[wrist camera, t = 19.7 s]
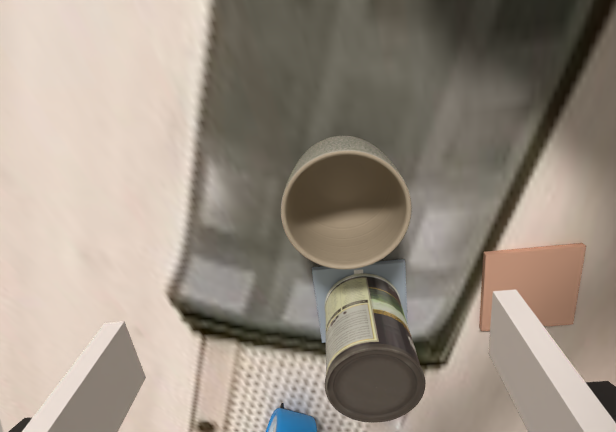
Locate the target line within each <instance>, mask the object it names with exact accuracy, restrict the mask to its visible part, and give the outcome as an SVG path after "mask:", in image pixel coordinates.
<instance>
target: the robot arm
mask: <svg viewBox="0 0 616 432" xmlns="http://www.w3.org/2000/svg"><path fill="white" fill-rule="evenodd" d="M489 356H490V358H491V360H492V362H493V364H494V366H495V368H496V370H497V372H498V373H499V375H500V377H501V379H502V381H503V383H504V385H505V387H506V389H507V391H508V393H509V395H510V397H511V399H512V401H513V403H514V405H515V407H516V409H517V411H518V413H519V415H520V417H521V419H522V421H523V423H524V424H525V426H526V428H527V430H528V432H616V386H614V385H613V384H611V383H610V382H609V381H602V382H585V381H584V380H583V378H582V377H581V376H580V374H579V373H578V372H577V370H576V369H575V368H574V366H573V365H572V364H571V362H570V361H569V360H568V358H567V357H566V356H565V354H564V353H563V352H562V350H561V349H560V348H559V346H558V345H557V344H556V342H555V341H554V340H553V338H552V337H551V336H550V334H549V333H548V331H547V330H546V329H545V327H544V326H543V325H542V323H541V322H540V321H539V319H538V318H537V317H536V315H535V314H534V313H533V311H532V310H531V309H530V307H529V306H528V305H527V303H526V302H525V301H524V299H523V298H522V297H521V295H520V294H519V293H518V291H517V290H516V289H515V290H503V291H493V296H492V310H491V325H490V340H489ZM145 378H146V377H145V374H144V371H143V369H142V366H141V364H140V361H139V358H138V356H137V353H136V351H135V348H134V345H133V343H132V340H131V337H130V335H129V332H128V330H127V327H126V324H125V322H124V321H122V322H109V323H104V324H103V326H102V327H101V328H100V330H99V331H98V332H97V333H96V335H95V336H94V337H93V339H92V340H91V341H90V343H89V344H88V345H87V347H86V348H85V349H84V351H83V352H82V353H81V355H80V356H79V357H78V358H77V360H76V361H75V362H74V364H73V365H72V366H71V368H70V369H69V370H68V372H67V373H66V374H65V376H64V377H63V378H62V380H61V381H60V382H59V383H58V385H57V386H56V387H55V389H54V390H53V391H52V393H51V394H50V395H49V397H48V398H47V399H46V401H45V402H44V403H43V405H42V406H41V407H40V408H39V410H38V411H37V412H36V414H35V415H34V416H33V418H24V419H23V420H22V421H20V422H19V423H18V424H17V425H16V426H15V427H13V428H12V429H11V430H10V431H9V432H118V430H119V428H120V426H121V424H122V422H123V420H124V418H125V417H126V415H127V413H128V411H129V409H130V407H131V405H132V403H133V401H134V399H135V397H136V395H137V393H138V392H139V390H140V388H141V386H142V384H143V382H144V380H145Z"/></svg>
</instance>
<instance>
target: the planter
mask: <svg viewBox="0 0 616 432" xmlns="http://www.w3.org/2000/svg"><path fill="white" fill-rule="evenodd" d="M281 219H282V224H283V227H284V230H285V233H286V235H287V237H288V239H289V240H290V242H291V243H292V245H293V246H294V247H295V248H296V249H297V250H298V251H299V252H300V253H301V254H302V255H303V256H305V257H306V258H307V259H309V260H311V261H313V262H315V263H317V264H319V265H322V266H325V267H328V268H333V269H356V268H361V267H365V266H368V265H371V264H373V263H375V262H377V261H379V260H381V259H383V258H384V257H386V256H387V255H388V254H390V253H391V252H392V251H393V250H394V249H395V248H396V247H397V246H398V244H399V243H400V242H401V240H402V239H403V237H404V235H405V233H406V231H407V229H408V226H409V223H410V219H411V198H410V194H409V191H408V188H407V186H406V183H405V182H404V180H403V178H402V176H401V174H400V173H399V172H398V170H397V169H396V167H395V166H394V165H393V163H392V162H391V161H390V160H389V159H388V158H387V157H386V156H385V154H384V153H382V152H381V151H380V150H379V149H378V148H377V147H375V146H374V145H372V144H371V143H369V142H367V141H365V140H363V139H360V138H357V137H352V136H336V137H331V138H327V139H325V140H322V141H320V142H318V143H316V144H315V145H313V146H312V147H311V148H310V149H308V150H307V151H306V152H305V153H304V155H303V156H302V157H301V158H300V160H299V161H298V163H297V164H296V166H295V167H294V169H293V171H292V173H291V175H290V177H289V180H288V182H287V184H286V187H285V190H284V194H283V198H282V203H281Z"/></svg>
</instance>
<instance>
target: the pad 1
mask: <svg viewBox="0 0 616 432" xmlns="http://www.w3.org/2000/svg"><path fill="white" fill-rule="evenodd" d="M361 273H366V274H374V275H377V276H380V277H382V278H384V279H386V280H388V281H389V282H390V283H391V284H392V285H393V286H394V287H395V288H396V290H397V292H398V294H399V296H400V301H401V305H402V308H403V312H404V315H405V318H406V322H407V299H406V271H405V260H404V259H400V260H389V261H377V262H375V263H373V264H371V265H368V266H365V267H361V268H356V269H333V268H328V267H325V266H322V267H312V274H313V281H314V288H315V295H316V302H317V309H318V316H319V323H320V330H321V337H322V343H325V342H326V318H325V307H324V306H325V300H326V296H327V294H328V292H329V290H330V289H331V288H332V287H333V286H334V285H335V284H336V283H337V282H338V281H340V280H341V279H343V278H345V277H348V276H350V275H354V274H361Z"/></svg>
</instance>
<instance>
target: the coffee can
mask: <svg viewBox="0 0 616 432" xmlns="http://www.w3.org/2000/svg"><path fill="white" fill-rule="evenodd" d="M324 307H325V318H326V379H325V391H326V395H327V397H328V400H329V401H330V403H331V404H332V406H333V407H334V408H335V409H336V410H338V411H339V412H340V413H342V414H343V415H345V416H347V417H349V418H351V419H354V420H358V421H362V422H384V421H390V420H393V419H396V418H398V417H401V416H402V415H404V414H406V413H408V412H409V411H410V410H412V409H413V408H414V407H415V406H416V405H417V404H418V403H419V401H420V400H421V398H422V396H423V394H424V390H425V377H424V373H423V370H422V368H421V366H420V364H419V360H418V357H417V354H416V351H415V347H414V344H413V341H412V338H411V335H410V331H409V328H408V325H407V322H406V318H405V315H404V312H403V308H402V305H401V301H400V296H399V294H398V292H397V290H396V288H395V287H394V286H393V285H392V284H391V283H390V282H389V281H388V280H386V279H384V278H382V277H380V276H377V275H374V274H366V273H361V274H354V275H350V276H348V277H345V278H343V279H341V280H340V281H338V282H337V283H336V284H335V285H334V286H333V287H332V288H331V289H330V290H329V292H328V294H327V296H326V300H325V306H324Z"/></svg>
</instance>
